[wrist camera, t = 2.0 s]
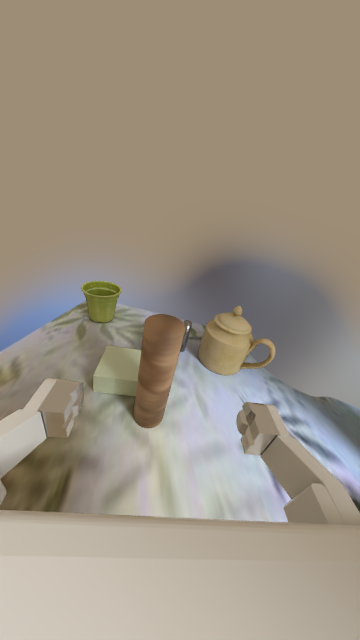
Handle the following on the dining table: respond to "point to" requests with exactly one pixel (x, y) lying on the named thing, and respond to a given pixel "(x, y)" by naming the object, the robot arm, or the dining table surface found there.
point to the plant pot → (101, 299)
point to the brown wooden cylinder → (157, 367)
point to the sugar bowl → (230, 344)
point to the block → (117, 371)
